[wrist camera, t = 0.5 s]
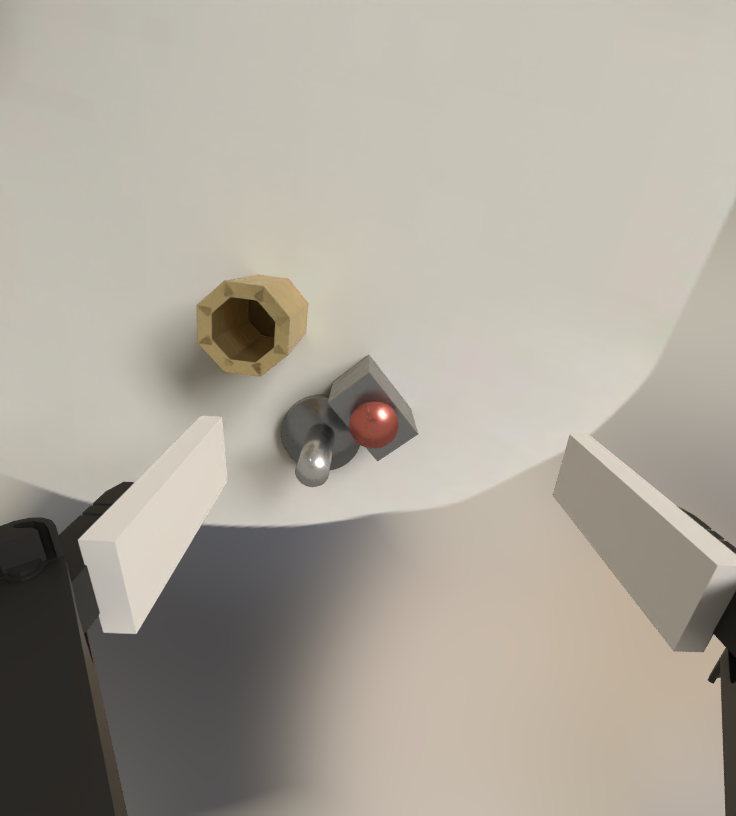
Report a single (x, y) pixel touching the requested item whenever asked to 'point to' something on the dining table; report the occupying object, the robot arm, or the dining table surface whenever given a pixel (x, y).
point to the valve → (346, 423)
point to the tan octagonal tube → (233, 333)
